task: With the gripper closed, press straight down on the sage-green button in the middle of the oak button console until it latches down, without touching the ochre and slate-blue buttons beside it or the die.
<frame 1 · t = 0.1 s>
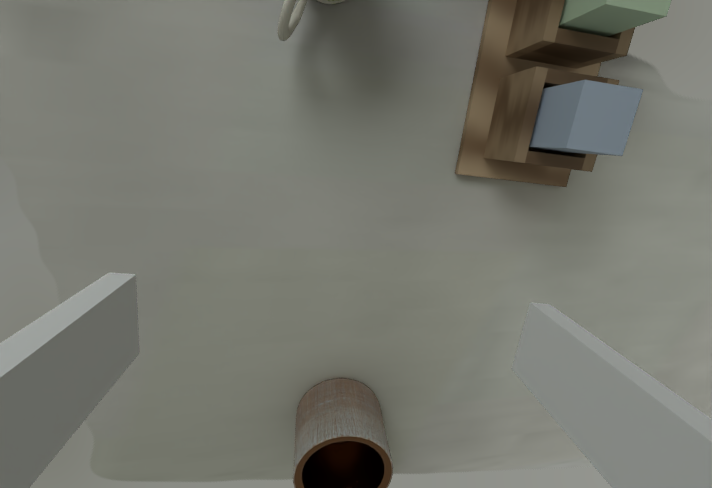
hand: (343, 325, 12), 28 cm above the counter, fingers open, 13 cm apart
button slate: (573, 121, 31), point 8 cm above the counter, slide at 0.0 cm
console: (547, 21, 36), on the counter
planter: (338, 409, 47), on the counter
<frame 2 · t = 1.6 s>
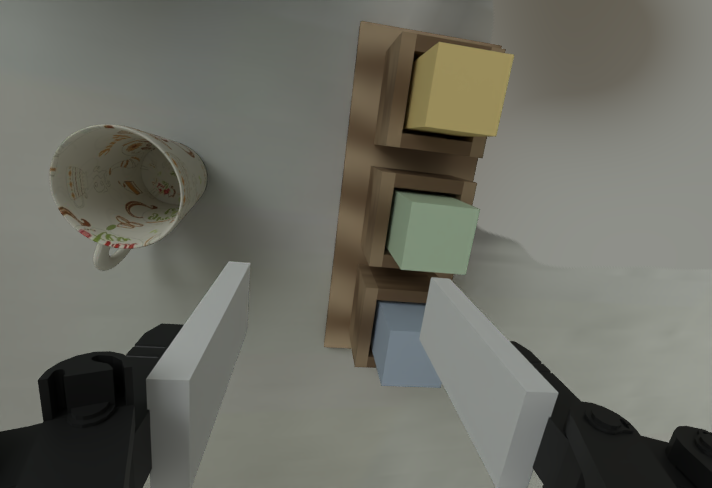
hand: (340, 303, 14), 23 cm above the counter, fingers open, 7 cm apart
button ochre: (449, 97, 26), point 8 cm above the counter, slide at 0.0 cm
mug: (166, 194, 34), on the counter
button slate: (405, 336, 32), point 8 cm above the counter, slide at 0.0 cm
console: (402, 209, 37), on the counter
button sage: (425, 228, 29), point 8 cm above the counter, slide at 0.0 cm
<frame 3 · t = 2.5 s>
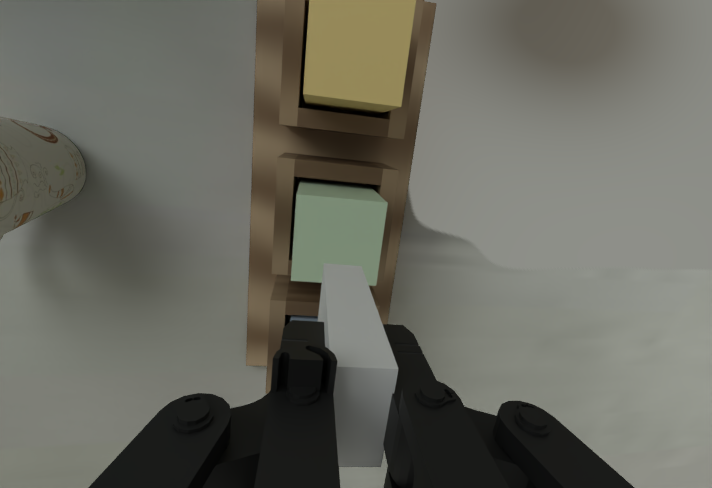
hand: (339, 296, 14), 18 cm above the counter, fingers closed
button ochre: (351, 59, 21), point 8 cm above the counter, slide at 0.0 cm
mug: (38, 189, 28), on the counter
button slate: (321, 358, 26), point 8 cm above the counter, slide at 0.0 cm
console: (329, 204, 31), on the counter
button sage: (334, 227, 23), point 8 cm above the counter, slide at 0.0 cm
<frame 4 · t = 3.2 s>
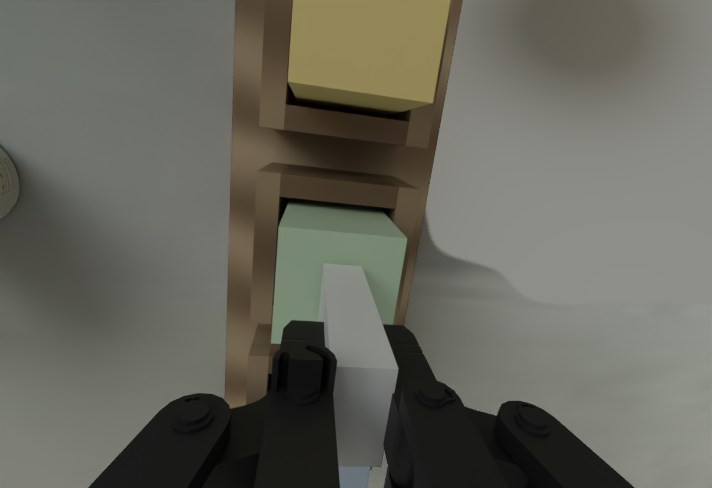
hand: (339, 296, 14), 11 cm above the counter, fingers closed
button ochre: (359, 37, 15), point 8 cm above the counter, slide at 0.0 cm
button slate: (314, 430, 20), point 8 cm above the counter, slide at 0.0 cm
console: (327, 225, 25), on the counter
button sage: (333, 262, 18), point 8 cm above the counter, slide at 0.3 cm, touching gripper
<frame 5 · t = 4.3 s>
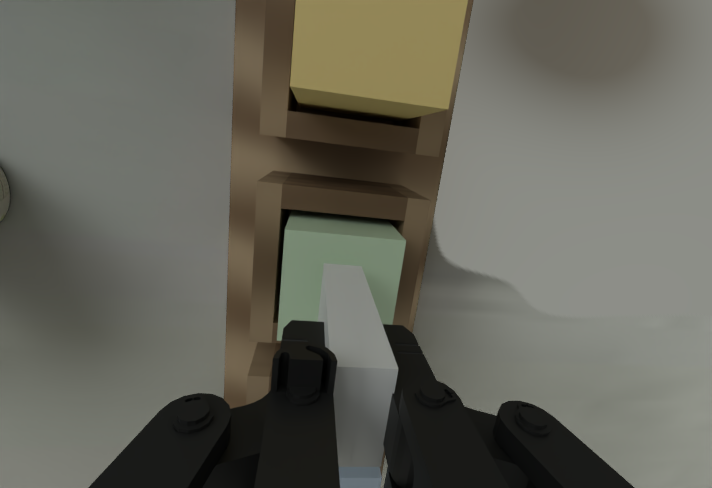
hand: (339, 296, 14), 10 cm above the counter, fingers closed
button ochre: (366, 39, 14), point 8 cm above the counter, slide at 0.0 cm
button slate: (317, 455, 19), point 8 cm above the counter, slide at 0.0 cm
console: (331, 236, 24), on the counter
button sage: (335, 264, 19), point 6 cm above the counter, slide at 2.3 cm
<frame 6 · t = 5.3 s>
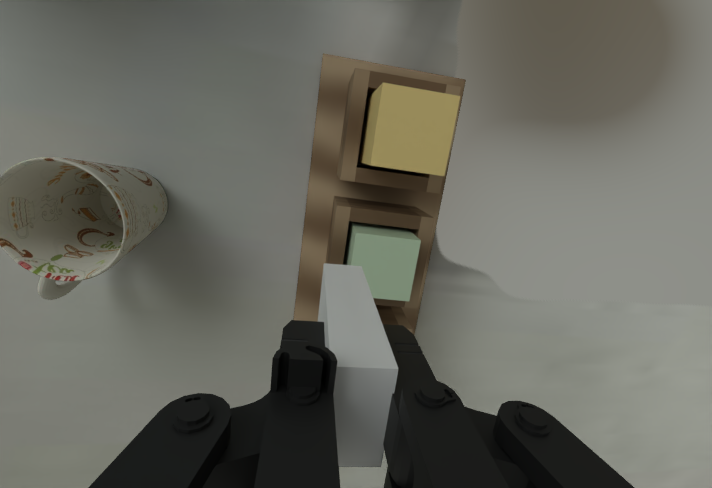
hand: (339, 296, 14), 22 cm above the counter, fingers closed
button ochre: (402, 133, 26), point 8 cm above the counter, slide at 0.0 cm
mug: (126, 220, 34), on the counter
console: (367, 239, 36), on the counter
button sage: (376, 255, 31), point 6 cm above the counter, slide at 2.3 cm
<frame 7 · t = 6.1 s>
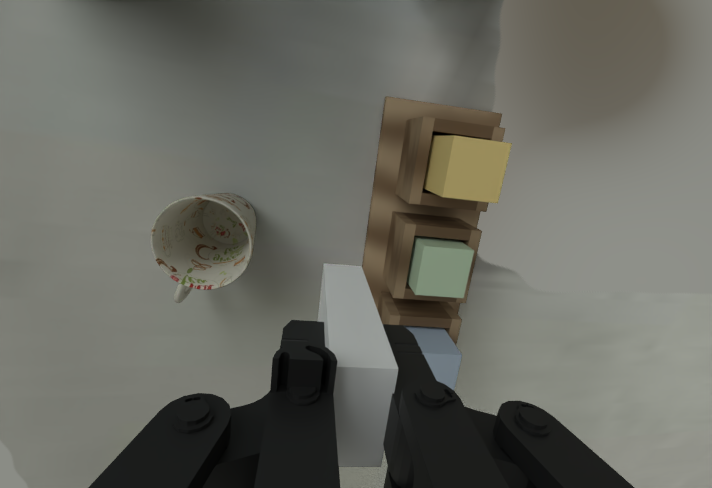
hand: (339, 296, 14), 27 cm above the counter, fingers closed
button ochre: (460, 167, 33), point 8 cm above the counter, slide at 0.0 cm
mug: (221, 235, 41), on the counter
button slate: (422, 355, 38), point 8 cm above the counter, slide at 0.0 cm
console: (418, 245, 43), on the counter
button sage: (433, 261, 38), point 6 cm above the counter, slide at 2.3 cm
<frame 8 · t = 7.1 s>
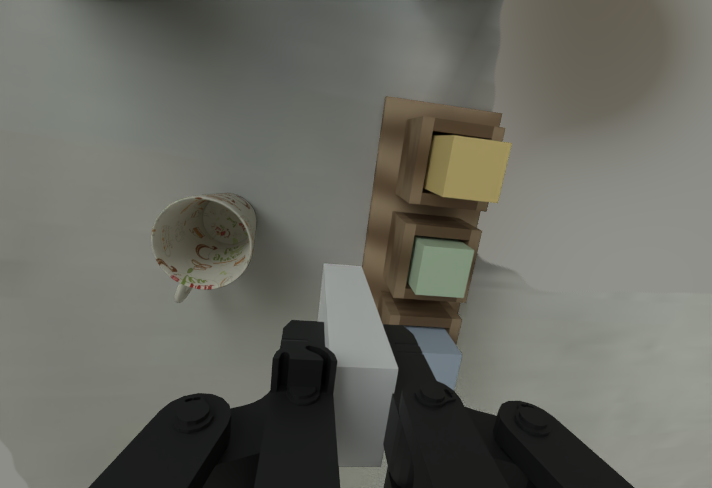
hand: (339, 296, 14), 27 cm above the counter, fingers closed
button ochre: (460, 167, 33), point 8 cm above the counter, slide at 0.0 cm
mug: (222, 235, 41), on the counter
button slate: (422, 355, 38), point 8 cm above the counter, slide at 0.0 cm
console: (418, 245, 43), on the counter
button sage: (433, 260, 38), point 6 cm above the counter, slide at 2.3 cm
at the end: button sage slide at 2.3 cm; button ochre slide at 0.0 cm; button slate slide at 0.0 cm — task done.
